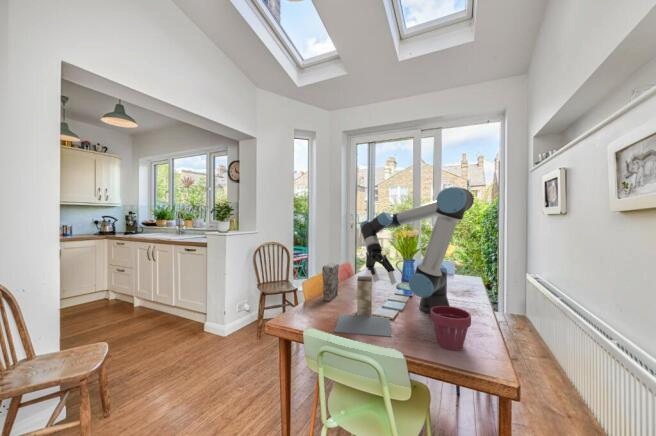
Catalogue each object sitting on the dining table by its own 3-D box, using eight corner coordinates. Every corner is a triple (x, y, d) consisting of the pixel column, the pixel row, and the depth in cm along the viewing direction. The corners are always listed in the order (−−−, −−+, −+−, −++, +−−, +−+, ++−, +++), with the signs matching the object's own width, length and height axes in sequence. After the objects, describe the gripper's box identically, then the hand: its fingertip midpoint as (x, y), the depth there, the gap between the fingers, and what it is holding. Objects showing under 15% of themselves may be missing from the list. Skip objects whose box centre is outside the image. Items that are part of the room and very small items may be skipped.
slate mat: (389, 317, 129) (389, 317, 129) (391, 337, 109) (391, 336, 109) (340, 314, 133) (340, 313, 133) (333, 332, 114) (333, 331, 114)
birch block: (371, 311, 138) (371, 276, 137) (371, 316, 131) (371, 280, 131) (358, 310, 139) (358, 276, 139) (357, 315, 132) (357, 279, 132)
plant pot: (464, 337, 109) (464, 306, 108) (476, 355, 95) (476, 320, 95) (427, 334, 112) (427, 304, 111) (433, 351, 98) (434, 317, 98)
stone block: (333, 301, 152) (333, 267, 152) (322, 300, 154) (322, 266, 154) (339, 294, 165) (339, 262, 164) (328, 293, 167) (328, 262, 166)
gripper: (382, 253, 155) (395, 287, 143) (352, 245, 140) (363, 282, 128) (392, 246, 151) (406, 281, 139) (362, 238, 136) (374, 276, 124)
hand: (385, 282), depth 133 cm, fingers open, 13 cm apart
